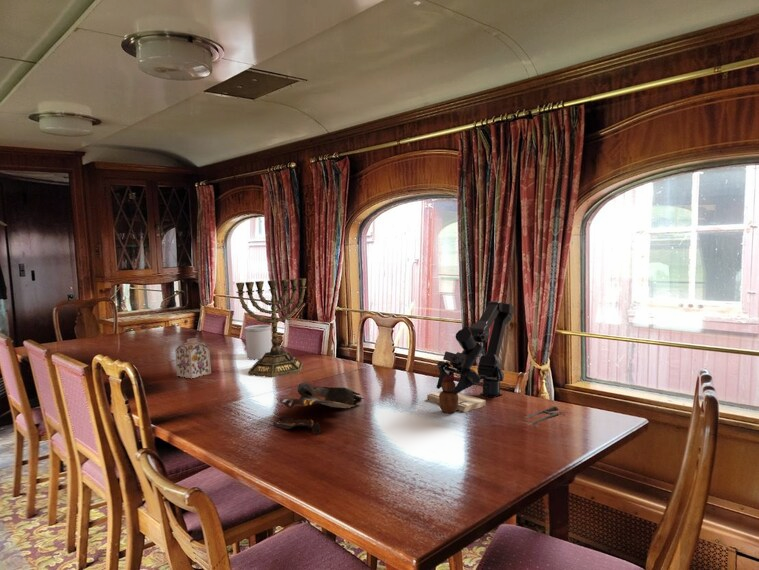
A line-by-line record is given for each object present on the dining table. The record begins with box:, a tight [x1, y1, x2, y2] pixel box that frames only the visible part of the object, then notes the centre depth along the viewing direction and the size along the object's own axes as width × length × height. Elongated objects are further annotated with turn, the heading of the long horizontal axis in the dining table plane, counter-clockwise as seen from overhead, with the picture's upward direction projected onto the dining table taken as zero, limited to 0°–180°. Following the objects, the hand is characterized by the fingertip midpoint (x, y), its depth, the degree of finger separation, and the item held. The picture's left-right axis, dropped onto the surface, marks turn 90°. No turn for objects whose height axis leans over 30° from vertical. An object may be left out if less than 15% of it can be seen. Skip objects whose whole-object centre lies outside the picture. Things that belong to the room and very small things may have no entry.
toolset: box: [273, 381, 365, 435], centre depth 183 cm, size 40×20×27 cm
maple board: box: [426, 390, 487, 413], centre depth 192 cm, size 11×20×2 cm, turn 36°
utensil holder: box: [243, 324, 273, 360], centre depth 286 cm, size 15×15×18 cm
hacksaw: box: [516, 406, 566, 431], centre depth 172 cm, size 24×10×2 cm, turn 122°
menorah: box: [235, 278, 307, 378], centre depth 252 cm, size 36×25×45 cm
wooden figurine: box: [439, 370, 458, 414], centre depth 182 cm, size 7×6×15 cm
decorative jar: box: [174, 337, 212, 380], centre depth 248 cm, size 12×12×18 cm
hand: (445, 391), depth 181 cm, fingers open, 9 cm apart
